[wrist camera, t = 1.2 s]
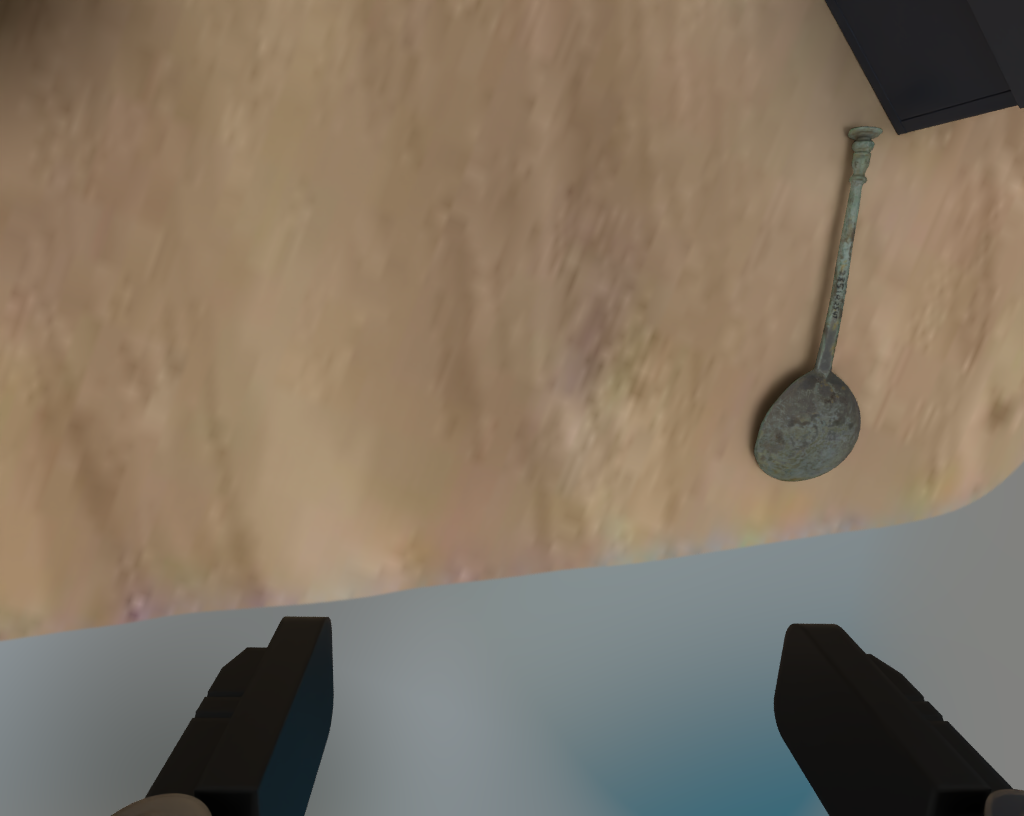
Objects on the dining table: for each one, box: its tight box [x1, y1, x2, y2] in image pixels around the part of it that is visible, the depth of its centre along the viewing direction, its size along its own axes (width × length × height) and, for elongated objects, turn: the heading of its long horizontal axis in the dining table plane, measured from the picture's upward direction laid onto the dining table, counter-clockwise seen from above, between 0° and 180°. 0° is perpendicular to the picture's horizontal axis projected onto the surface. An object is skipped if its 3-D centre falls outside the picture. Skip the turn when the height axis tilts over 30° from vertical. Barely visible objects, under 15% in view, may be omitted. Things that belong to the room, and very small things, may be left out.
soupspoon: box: [754, 126, 883, 481], centre depth 39 cm, size 22×3×7 cm
